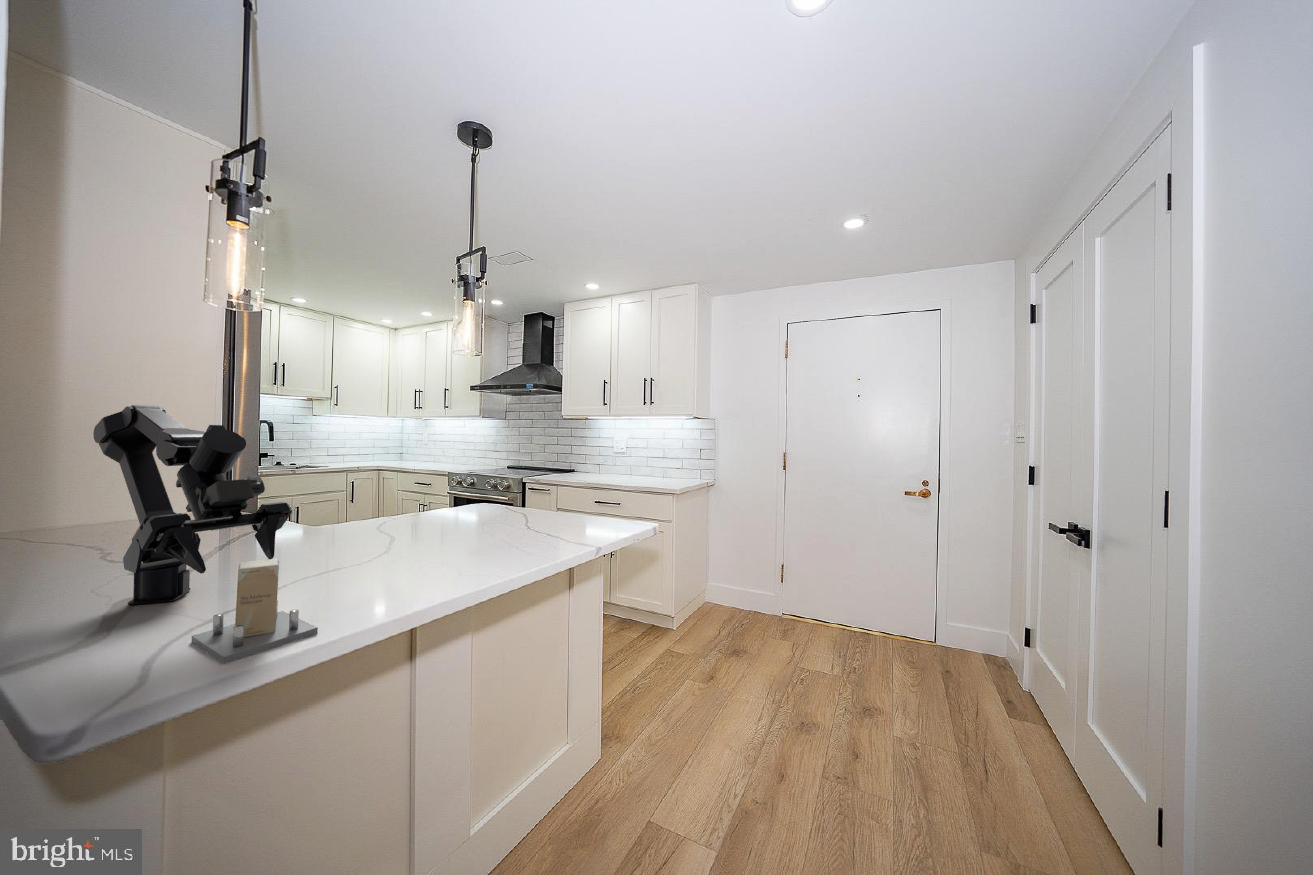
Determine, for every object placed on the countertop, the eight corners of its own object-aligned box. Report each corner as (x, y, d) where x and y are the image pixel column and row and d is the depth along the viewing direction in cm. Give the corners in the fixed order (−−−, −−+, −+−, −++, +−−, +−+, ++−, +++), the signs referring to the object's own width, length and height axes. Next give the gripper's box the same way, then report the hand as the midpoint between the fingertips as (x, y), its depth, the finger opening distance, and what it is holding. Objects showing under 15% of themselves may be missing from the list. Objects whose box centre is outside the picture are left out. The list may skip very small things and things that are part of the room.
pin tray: (224, 663, 67) (224, 636, 67) (191, 641, 73) (192, 616, 73) (317, 633, 78) (318, 609, 78) (282, 616, 84) (283, 594, 84)
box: (233, 639, 72) (235, 568, 72) (235, 629, 76) (237, 561, 75) (277, 631, 76) (279, 563, 75) (277, 622, 79) (279, 557, 79)
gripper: (148, 464, 71) (181, 548, 67) (288, 458, 88) (321, 525, 84) (125, 509, 74) (154, 591, 70) (263, 496, 91) (294, 561, 87)
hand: (239, 564), depth 78 cm, fingers open, 9 cm apart
